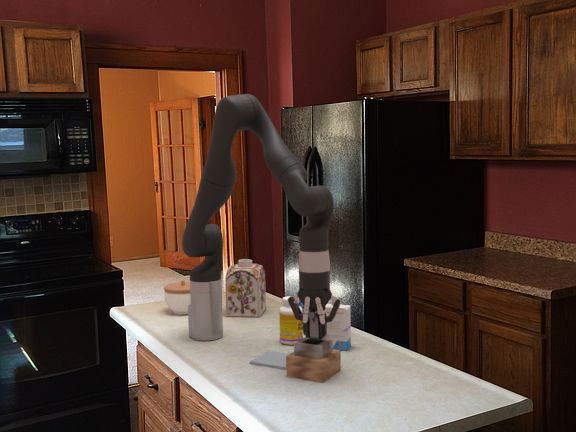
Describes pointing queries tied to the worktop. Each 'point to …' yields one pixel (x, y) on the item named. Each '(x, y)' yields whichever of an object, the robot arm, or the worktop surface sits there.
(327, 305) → the ink box
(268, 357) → the mat
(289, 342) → the supplement bottle
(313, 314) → the chuck key
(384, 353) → the worktop surface
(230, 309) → the decorative jar
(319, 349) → the block
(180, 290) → the lidded bowl
